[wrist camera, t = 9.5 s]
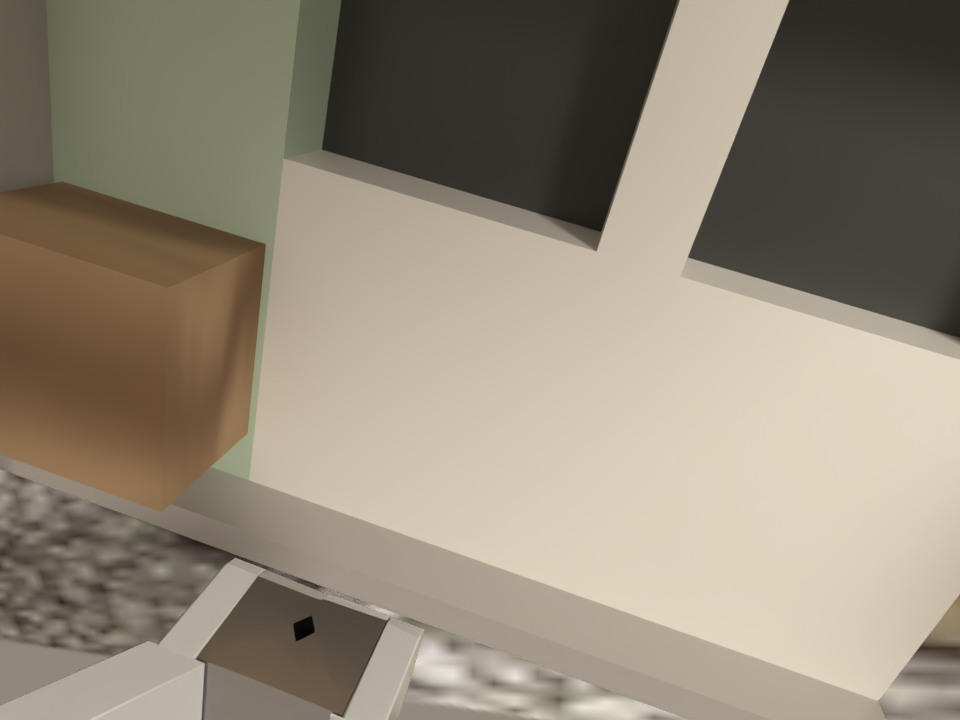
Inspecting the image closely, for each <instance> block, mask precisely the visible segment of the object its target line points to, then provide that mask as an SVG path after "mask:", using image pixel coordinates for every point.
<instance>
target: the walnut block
mask: <svg viewBox="0 0 960 720" xmlns="http://www.w3.org/2000/svg"><path fill="white" fill-rule="evenodd" d="M265 249H266V244H264V243H261V242H257V241H254V240H251V239H248V238H244V237H241V236H238V235H235V234H231V233H228V232H225V231H222V230H218V229H215V228H212V227H209V226H205V225H202V224H199V223H196V222H192V221H189V220H186V219H183V218H179V217H176V216H173V215H170V214H166V213H163V212H160V211H157V210H153V209H150V208H147V207H144V206H140V205H137V204H134V203H131V202H128V201H124V200H121V199H118V198H115V197H111V196H108V195H105V194H102V193H98V192H95V191H92V190H89V189H85V188H82V187H79V186H76V185H72V184H69V183H66V182H57V183H52V184H46V185H40V186H35V187H29V188H24V189H18V190H12V191H7V192H1V193H0V455H3V456H6V457H9V458H12V459H14V460H17V461H20V462H23V463H26V464H28V465H31V466H34V467H37V468H40V469H42V470H45V471H48V472H51V473H54V474H56V475H59V476H62V477H65V478H68V479H70V480H73V481H76V482H79V483H82V484H84V485H87V486H90V487H93V488H96V489H98V490H101V491H104V492H107V493H110V494H112V495H115V496H118V497H121V498H123V499H126V500H129V501H132V502H135V503H137V504H140V505H143V506H146V507H149V508H151V509H154V510H157V511H160V512H162V511H163V510H164V509H165V508H166V507H167V506H168V505H170V504H171V503H172V502H173V501H174V500H175V499H176V498H177V497H178V496H179V495H181V494H182V493H183V492H184V491H185V490H186V489H187V488H188V487H189V486H190V485H192V484H193V483H194V482H195V481H196V480H197V479H198V478H199V477H200V476H201V475H202V474H204V473H205V472H206V471H207V470H208V469H209V468H210V467H211V466H212V465H213V464H215V463H216V462H217V461H218V460H219V459H220V458H221V457H222V456H223V455H224V454H225V453H227V452H228V451H229V450H230V449H231V448H232V447H233V446H234V445H235V444H236V443H238V442H239V441H240V440H241V439H242V438H243V437H244V436H245V435H246V434H247V433H248V424H249V414H250V403H251V393H252V383H253V373H254V362H255V352H256V342H257V332H258V321H259V311H260V301H261V290H262V280H263V270H264V260H265Z"/></svg>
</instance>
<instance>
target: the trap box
mask: <svg viewBox="0 0 960 720" xmlns="http://www.w3.org/2000/svg"><path fill="white" fill-rule="evenodd" d="M57 182H66V183H69V184H72V185H76V186H79V187H82V188H85V189H89V190H92V191H95V192H98V193H102V194H105V195H108V196H111V197H115V198H118V199H121V200H124V201H128V202H131V203H134V204H137V205H140V206H144V207H147V208H150V209H153V210H157V211H160V212H163V213H166V214H170V215H173V216H176V217H179V218H183V219H186V220H189V221H192V222H196V223H199V224H202V225H205V226H209V227H212V228H215V229H218V230H222V231H225V232H228V233H231V234H235V235H238V236H241V237H244V238H248V239H251V240H254V241H257V242H261V243H264V244H266V249H265V260H264V270H263V280H262V290H261V301H260V311H259V321H258V332H257V342H256V352H255V362H254V373H253V383H252V393H251V403H250V414H249V424H248V433H247V434H246V435H245V436H244V437H243V438H242V439H241V440H240V441H239V442H238V443H236V444H235V445H234V446H233V447H232V448H231V449H230V450H229V451H228V452H227V453H225V454H224V455H223V456H222V457H221V458H220V459H219V460H218V461H217V462H216V463H215V464H213V465H212V466H211V467H210V468H209V469H208V470H207V471H206V472H205V473H204V474H202V475H201V476H200V477H199V478H198V479H197V480H196V481H195V482H194V483H193V484H192V485H190V486H189V487H188V488H187V489H186V490H185V491H184V492H183V493H182V494H181V495H179V496H178V497H177V498H176V499H175V500H174V501H173V502H172V503H171V504H170V505H168V506H167V507H166V508H165V509H164V510H163V511H162V512H160V511H157V510H154V509H151V508H149V507H146V506H143V505H140V504H137V503H135V502H132V501H129V500H126V499H123V498H121V497H118V496H115V495H112V494H110V493H107V492H104V491H101V490H98V489H96V488H93V487H90V486H87V485H84V484H82V483H79V482H76V481H73V480H70V479H68V478H65V477H62V476H59V475H56V474H54V473H51V472H48V471H45V470H42V469H40V468H37V467H34V466H31V465H28V464H26V463H23V462H20V461H17V460H14V459H12V458H9V457H6V456H3V455H0V469H1V470H4V471H7V472H9V473H12V474H15V475H18V476H20V477H23V478H26V479H29V480H31V481H34V482H37V483H40V484H42V485H45V486H48V487H51V488H53V489H56V490H59V491H62V492H64V493H67V494H70V495H73V496H75V497H78V498H81V499H84V500H86V501H89V502H92V503H95V504H97V505H100V506H103V507H106V508H109V509H111V510H114V511H117V512H120V513H122V514H125V515H128V516H131V517H133V518H136V519H139V520H142V521H144V522H147V523H150V524H153V525H155V526H158V527H161V528H164V529H166V530H169V531H172V532H175V533H177V534H180V535H183V536H186V537H188V538H191V539H194V540H197V541H199V542H202V543H205V544H208V545H210V546H213V547H216V548H219V549H221V550H224V551H227V552H230V553H232V554H235V555H238V556H241V557H243V558H246V559H249V560H252V561H254V562H257V563H260V564H263V565H265V566H268V567H271V568H274V569H276V570H279V571H282V572H285V573H287V574H290V575H293V576H296V577H298V578H301V579H304V580H307V581H309V582H312V583H315V584H318V585H320V586H323V587H326V588H329V589H331V590H334V591H337V592H340V593H342V594H345V595H348V596H351V597H353V598H356V599H359V600H362V601H364V602H367V603H370V604H373V605H376V606H378V607H381V608H384V609H387V610H389V611H392V612H395V613H398V614H400V615H403V616H406V617H409V618H411V619H414V620H417V621H420V622H422V623H425V624H428V625H431V626H433V627H436V628H439V629H442V630H444V631H447V632H450V633H453V634H455V635H458V636H461V637H464V638H466V639H469V640H472V641H475V642H477V643H480V644H483V645H486V646H488V647H491V648H494V649H497V650H499V651H502V652H505V653H508V654H510V655H513V656H516V657H519V658H521V659H524V660H527V661H530V662H532V663H535V664H538V665H541V666H543V667H546V668H549V669H552V670H554V671H557V672H560V673H563V674H565V675H568V676H571V677H574V678H576V679H579V680H582V681H585V682H587V683H590V684H593V685H596V686H598V687H601V688H604V689H607V690H609V691H612V692H615V693H618V694H620V695H623V696H626V697H629V698H631V699H634V700H637V701H640V702H643V703H645V704H648V705H651V706H654V707H656V708H659V709H662V710H665V711H667V712H670V713H673V714H676V715H678V716H681V717H684V718H687V719H689V720H885V717H884V714H883V712H882V709H881V707H880V704H879V702H878V701H879V699H880V698H881V697H882V695H883V694H884V693H885V692H886V690H887V689H888V688H889V686H890V685H891V684H892V682H893V681H894V680H895V678H896V677H897V676H898V674H899V673H900V672H901V671H902V669H903V668H904V667H905V665H906V664H907V663H908V661H909V660H910V659H911V657H912V656H913V655H914V654H915V652H916V651H917V650H918V648H919V647H920V646H921V644H922V643H923V642H924V640H925V639H926V638H927V637H928V635H929V634H930V633H931V631H932V630H933V629H934V627H935V626H936V625H937V623H938V622H939V621H940V620H941V618H942V617H943V616H944V614H945V613H946V612H947V610H948V609H949V608H950V606H951V605H952V604H953V602H954V601H955V600H956V599H957V597H958V596H959V595H960V0H0V193H1V192H7V191H12V190H18V189H24V188H29V187H35V186H40V185H46V184H52V183H57Z"/></svg>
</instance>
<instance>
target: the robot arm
mask: <svg viewBox="0 0 960 720" xmlns="http://www.w3.org/2000/svg"><path fill="white" fill-rule="evenodd" d="M423 634H424V629H422V628H419V627H416V626H414V625H411V624H408V623H406V622H403V621H400V620H398V619H395V618H392V617H391V616H389V615H386V614H384V613H381V612H378V611H375V610H373V609H370V608H367V607H364V606H361V605H359V604H356V603H353V602H350V601H348V600H345V599H342V598H339V597H336V596H334V595H331V594H328V595H327V594H324V593H322V592H319V591H317V590H315V589H312V588H310V587H307V586H305V585H302V584H300V583H297V582H295V581H293V580H290V579H288V578H285V577H283V576H280V575H278V574H275V573H273V572H270V571H268V570H265V569H263V568H260V567H258V566H255V565H252V564H250V563H247V562H245V561H242V560H240V559H237V558H234V559H233V560H231V561H230V562H228V563H227V564H225V565H224V566H223V567H222V569H221V570H220V571H219V572H218V573H217V575H216V576H215V577H214V578H213V579H212V580H211V582H210V583H209V584H208V585H207V586H206V588H205V589H204V590H203V591H202V592H201V593H200V595H199V596H198V597H197V598H196V599H195V601H194V602H193V603H192V604H191V605H190V606H189V608H188V609H187V610H186V611H185V612H184V614H183V615H182V616H181V617H180V618H179V620H178V621H177V622H176V623H175V624H174V625H173V627H172V628H171V629H170V630H169V631H168V633H167V634H166V635H165V636H164V637H163V638H162V640H161V641H160V642H159V643H158V644H156V643H154V642H151V641H146V642H144V643H141V644H139V645H137V646H135V647H132V648H130V649H128V650H125V651H123V652H121V653H119V654H116V655H114V656H112V657H109V658H107V659H105V660H103V661H101V662H98V663H96V664H94V665H91V666H89V667H87V668H85V669H82V670H80V671H78V672H75V673H73V674H71V675H69V676H66V677H64V678H62V679H59V680H57V681H55V682H53V683H50V684H48V685H46V686H44V687H41V688H39V689H37V690H34V691H32V692H30V693H28V694H25V695H23V696H21V697H19V698H16V699H14V700H12V701H9V702H7V703H5V704H3V705H0V720H397V719H398V716H399V713H400V710H401V707H402V704H403V701H404V698H405V695H406V692H407V689H408V686H409V683H410V680H411V676H412V673H413V669H414V666H415V662H416V659H417V655H418V652H419V648H420V645H421V641H422V638H423Z"/></svg>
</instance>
